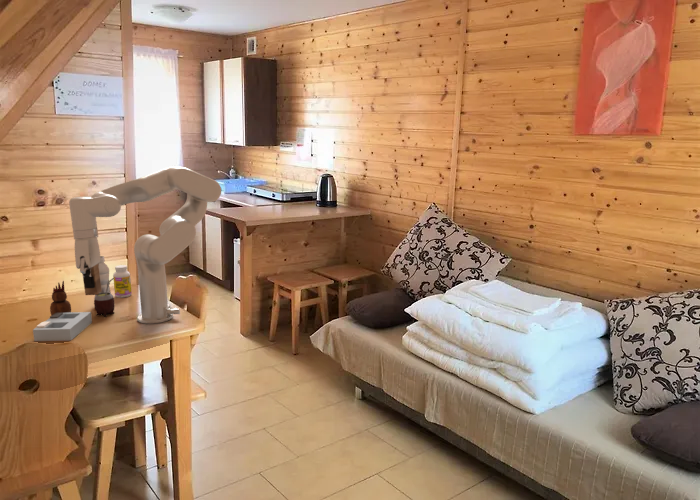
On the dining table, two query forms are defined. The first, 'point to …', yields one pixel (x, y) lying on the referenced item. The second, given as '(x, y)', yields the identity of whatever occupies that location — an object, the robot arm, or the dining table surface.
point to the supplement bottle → (122, 281)
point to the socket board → (62, 326)
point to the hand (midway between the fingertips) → (92, 285)
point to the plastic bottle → (103, 275)
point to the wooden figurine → (59, 300)
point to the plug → (97, 288)
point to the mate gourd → (104, 303)
